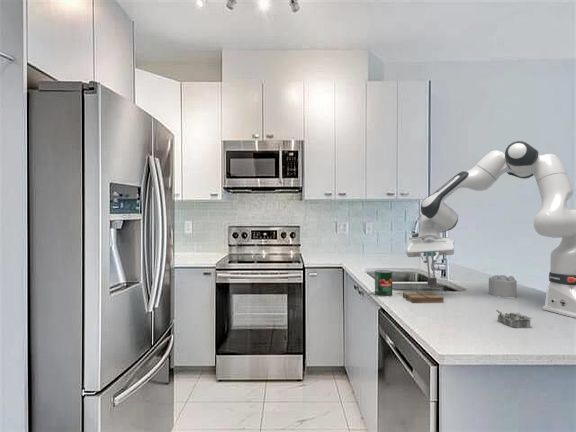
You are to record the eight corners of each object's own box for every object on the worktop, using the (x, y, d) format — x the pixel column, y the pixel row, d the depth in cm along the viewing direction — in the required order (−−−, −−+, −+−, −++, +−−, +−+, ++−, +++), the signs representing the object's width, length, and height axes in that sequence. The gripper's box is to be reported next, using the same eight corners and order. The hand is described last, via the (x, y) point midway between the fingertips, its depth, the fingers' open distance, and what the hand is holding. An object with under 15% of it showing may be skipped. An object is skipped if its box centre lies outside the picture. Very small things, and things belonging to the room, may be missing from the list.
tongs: (436, 285, 190) (433, 252, 191) (427, 285, 192) (424, 253, 193) (437, 284, 193) (434, 252, 194) (428, 284, 194) (425, 252, 195)
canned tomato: (382, 292, 208) (382, 269, 208) (396, 295, 201) (396, 271, 201) (371, 294, 203) (371, 270, 203) (384, 297, 197) (384, 272, 196)
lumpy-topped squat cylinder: (508, 292, 210) (508, 274, 209) (521, 297, 197) (522, 278, 196) (485, 292, 210) (486, 274, 210) (498, 297, 197) (498, 278, 197)
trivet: (443, 302, 185) (443, 297, 185) (413, 303, 185) (413, 297, 184) (431, 296, 198) (431, 291, 198) (402, 297, 197) (402, 291, 197)
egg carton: (494, 321, 156) (494, 309, 156) (515, 320, 156) (515, 309, 156) (511, 329, 145) (511, 316, 145) (534, 328, 145) (534, 316, 145)
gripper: (454, 241, 200) (456, 265, 190) (407, 245, 207) (407, 267, 197) (453, 232, 196) (455, 255, 186) (405, 235, 203) (405, 258, 194)
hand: (430, 261), depth 192 cm, fingers closed on tongs, 3 cm apart
